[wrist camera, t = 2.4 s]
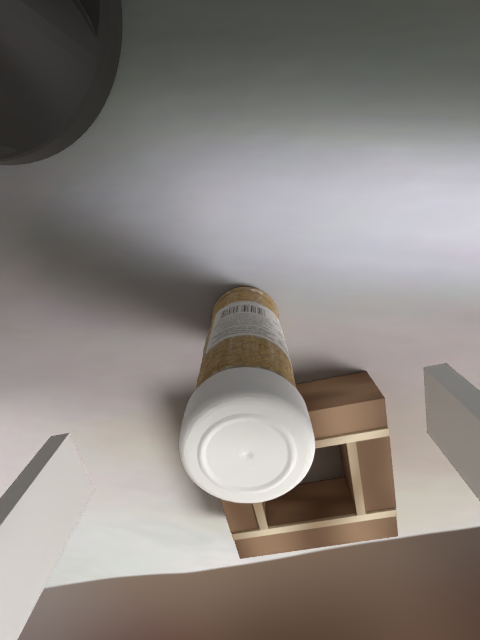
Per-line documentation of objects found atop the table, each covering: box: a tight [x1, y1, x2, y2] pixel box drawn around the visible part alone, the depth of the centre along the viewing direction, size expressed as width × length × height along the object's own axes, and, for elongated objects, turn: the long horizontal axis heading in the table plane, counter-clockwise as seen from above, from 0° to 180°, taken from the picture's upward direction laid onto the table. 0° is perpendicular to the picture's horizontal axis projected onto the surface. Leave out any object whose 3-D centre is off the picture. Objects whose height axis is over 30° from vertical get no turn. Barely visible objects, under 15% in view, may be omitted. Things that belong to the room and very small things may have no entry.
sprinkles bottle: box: [179, 287, 315, 503], centre depth 18 cm, size 5×5×13 cm
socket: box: [220, 371, 398, 559], centre depth 26 cm, size 12×12×4 cm
